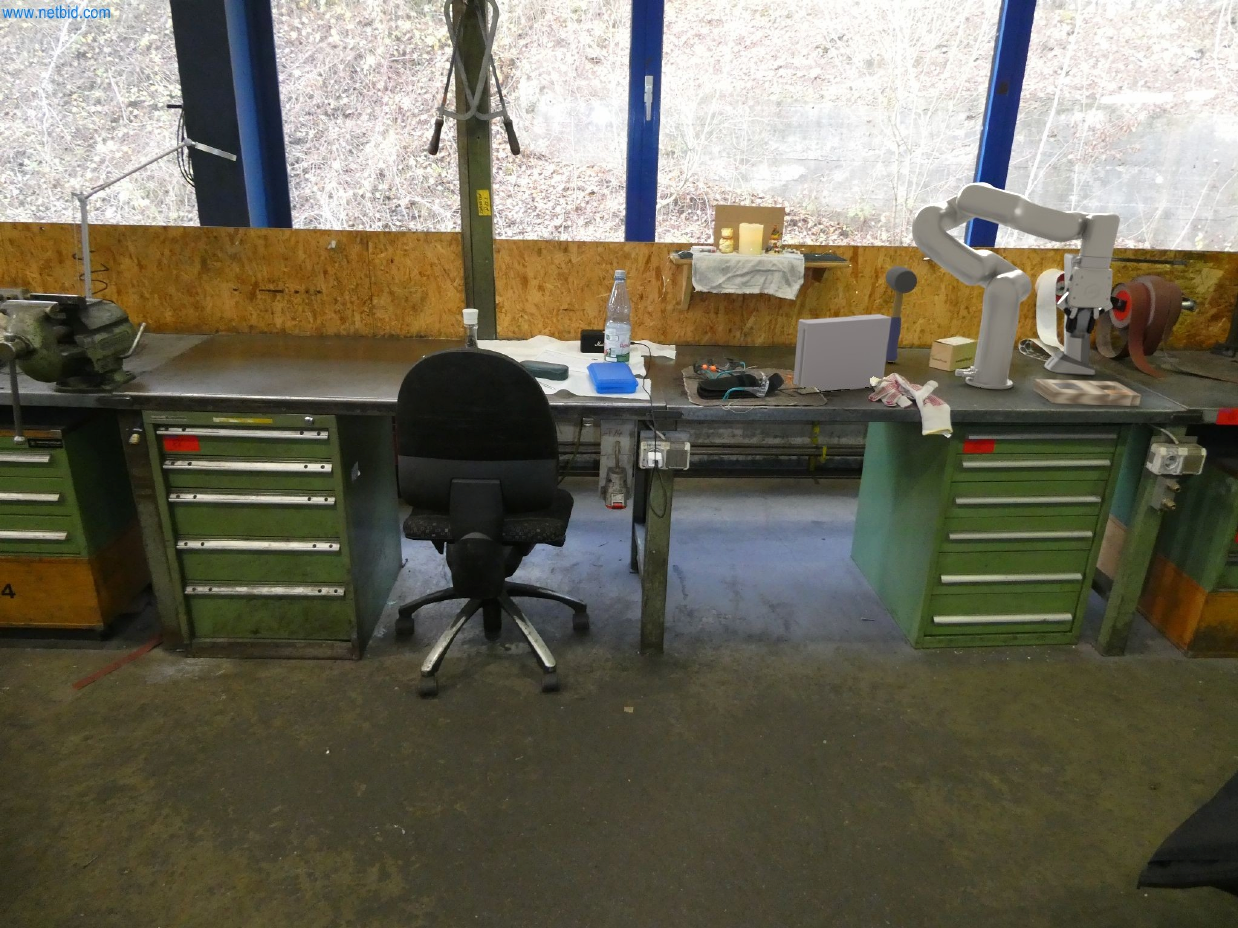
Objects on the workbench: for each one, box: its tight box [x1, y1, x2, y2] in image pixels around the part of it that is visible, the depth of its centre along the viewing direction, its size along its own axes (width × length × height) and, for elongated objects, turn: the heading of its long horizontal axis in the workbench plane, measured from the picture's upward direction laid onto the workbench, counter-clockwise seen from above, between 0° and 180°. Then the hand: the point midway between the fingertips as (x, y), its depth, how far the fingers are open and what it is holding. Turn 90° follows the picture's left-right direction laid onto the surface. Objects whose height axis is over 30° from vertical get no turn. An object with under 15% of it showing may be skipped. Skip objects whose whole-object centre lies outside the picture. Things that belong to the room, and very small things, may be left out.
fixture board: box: [1032, 378, 1142, 407], centre depth 222 cm, size 22×14×3 cm, turn 84°
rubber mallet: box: [885, 265, 918, 362], centre depth 254 cm, size 12×8×30 cm, turn 176°
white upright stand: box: [1043, 252, 1096, 376], centre depth 245 cm, size 12×13×35 cm
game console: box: [792, 313, 892, 391], centre depth 226 cm, size 6×27×20 cm, turn 111°
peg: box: [1069, 307, 1092, 339], centre depth 215 cm, size 4×4×9 cm
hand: (1078, 331), depth 217 cm, fingers closed on peg, 4 cm apart
